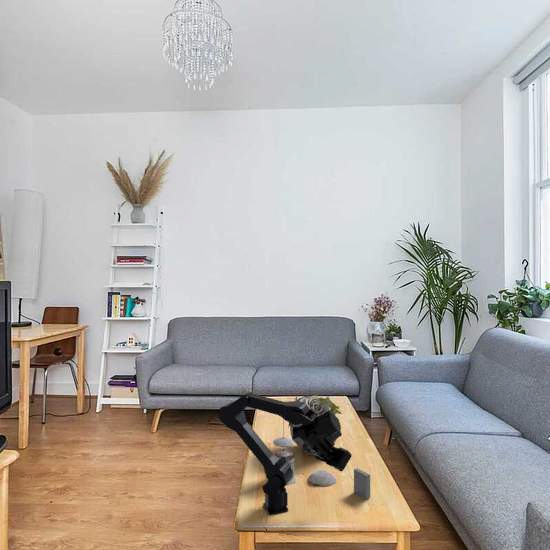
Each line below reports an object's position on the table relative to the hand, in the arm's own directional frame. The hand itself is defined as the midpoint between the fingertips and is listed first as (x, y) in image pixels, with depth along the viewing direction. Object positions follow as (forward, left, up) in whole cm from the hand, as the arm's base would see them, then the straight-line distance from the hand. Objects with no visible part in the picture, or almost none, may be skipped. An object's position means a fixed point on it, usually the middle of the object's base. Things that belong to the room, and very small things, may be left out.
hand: (339, 465), depth 139 cm
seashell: (+3, +17, -13) cm, 22 cm away
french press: (-11, +22, -13) cm, 28 cm away
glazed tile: (+10, +2, -13) cm, 16 cm away
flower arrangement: (+12, +42, -13) cm, 46 cm away
